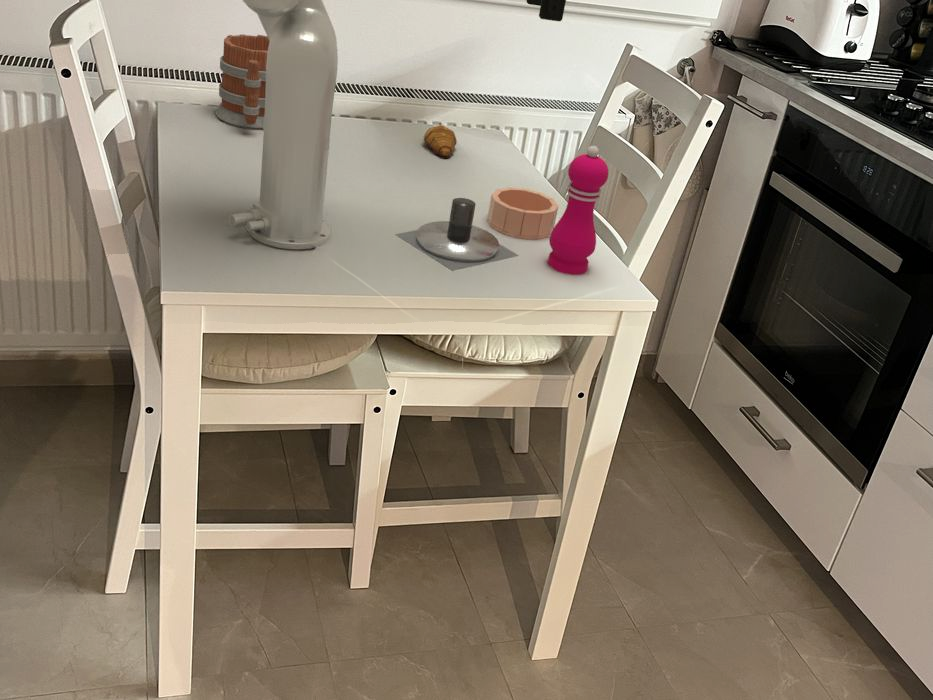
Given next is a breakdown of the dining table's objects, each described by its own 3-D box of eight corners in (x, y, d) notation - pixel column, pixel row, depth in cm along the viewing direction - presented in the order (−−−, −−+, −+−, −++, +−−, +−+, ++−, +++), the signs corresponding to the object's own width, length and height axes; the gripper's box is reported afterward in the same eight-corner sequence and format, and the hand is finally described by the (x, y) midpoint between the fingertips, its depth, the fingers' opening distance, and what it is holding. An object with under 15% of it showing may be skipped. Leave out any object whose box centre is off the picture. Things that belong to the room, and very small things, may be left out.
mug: (288, 111, 205) (293, 37, 198) (287, 142, 189) (293, 62, 181) (218, 104, 202) (220, 28, 195) (211, 134, 186) (213, 53, 179)
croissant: (462, 162, 195) (466, 137, 193) (428, 160, 194) (432, 135, 191) (447, 139, 207) (451, 116, 204) (415, 137, 205) (419, 113, 202)
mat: (451, 272, 149) (452, 270, 149) (394, 236, 158) (395, 234, 158) (518, 257, 158) (518, 255, 158) (460, 224, 167) (461, 221, 166)
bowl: (518, 245, 162) (524, 217, 160) (474, 220, 169) (479, 192, 167) (564, 235, 169) (570, 208, 167) (520, 211, 176) (525, 184, 174)
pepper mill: (561, 254, 162) (587, 135, 152) (598, 271, 158) (627, 150, 149) (535, 264, 157) (560, 141, 147) (572, 282, 153) (601, 157, 144)
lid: (452, 268, 150) (460, 224, 146) (399, 235, 158) (405, 192, 154) (514, 254, 158) (522, 212, 154) (461, 223, 166) (467, 182, 162)
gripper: (529, -131, 139) (507, -4, 147) (553, -119, 124) (528, 22, 132) (581, -123, 140) (556, 3, 149) (611, -109, 125) (582, 29, 134)
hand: (543, 12), depth 140 cm, fingers open, 9 cm apart
